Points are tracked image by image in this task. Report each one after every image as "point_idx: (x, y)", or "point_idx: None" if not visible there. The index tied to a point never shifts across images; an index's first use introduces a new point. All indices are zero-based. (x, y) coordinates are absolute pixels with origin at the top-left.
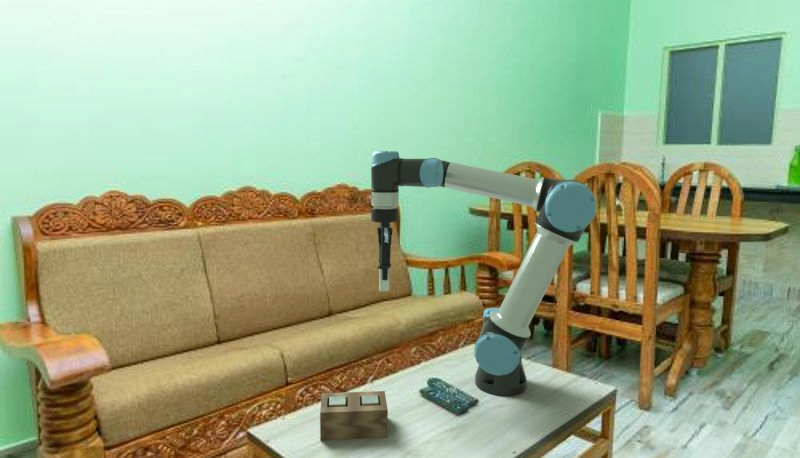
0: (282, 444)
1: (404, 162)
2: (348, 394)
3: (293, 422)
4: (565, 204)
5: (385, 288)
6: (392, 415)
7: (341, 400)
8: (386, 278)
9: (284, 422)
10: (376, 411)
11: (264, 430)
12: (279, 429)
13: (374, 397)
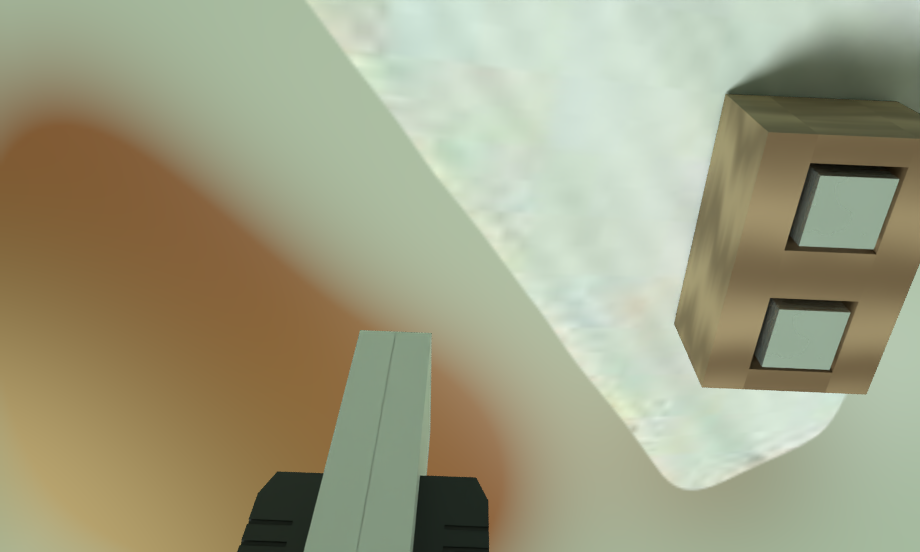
0: (792, 424)
1: None
2: (747, 293)
3: (664, 402)
4: None
5: (428, 396)
6: (719, 54)
7: (811, 326)
8: (487, 514)
9: (657, 425)
10: None
11: (691, 470)
12: (698, 436)
13: (838, 192)
